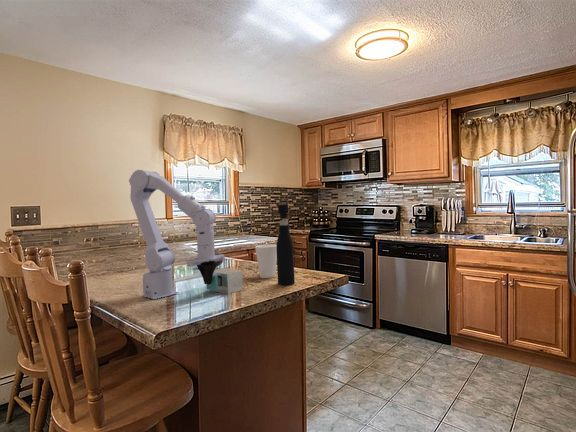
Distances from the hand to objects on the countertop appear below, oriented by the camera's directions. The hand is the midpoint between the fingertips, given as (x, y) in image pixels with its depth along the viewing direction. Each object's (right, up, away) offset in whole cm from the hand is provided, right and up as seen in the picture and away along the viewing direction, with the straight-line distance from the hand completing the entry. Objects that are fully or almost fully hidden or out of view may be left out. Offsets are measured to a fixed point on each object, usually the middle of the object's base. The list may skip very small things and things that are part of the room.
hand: (207, 283), depth 119 cm
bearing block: (+5, -4, +6) cm, 9 cm away
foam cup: (+19, -2, +27) cm, 33 cm away
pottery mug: (-10, -3, +52) cm, 53 cm away
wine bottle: (+27, -3, +13) cm, 30 cm away
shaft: (+4, -2, +5) cm, 7 cm away
